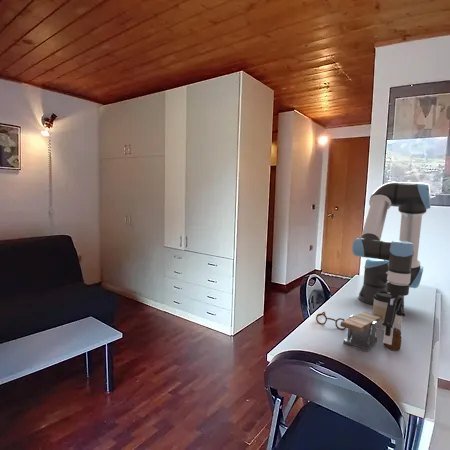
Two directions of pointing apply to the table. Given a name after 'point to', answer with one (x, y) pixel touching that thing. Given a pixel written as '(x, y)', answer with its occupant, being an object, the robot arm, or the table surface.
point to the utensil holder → (395, 340)
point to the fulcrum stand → (362, 338)
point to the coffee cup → (380, 306)
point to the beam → (361, 321)
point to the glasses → (330, 319)
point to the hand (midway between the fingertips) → (392, 337)
